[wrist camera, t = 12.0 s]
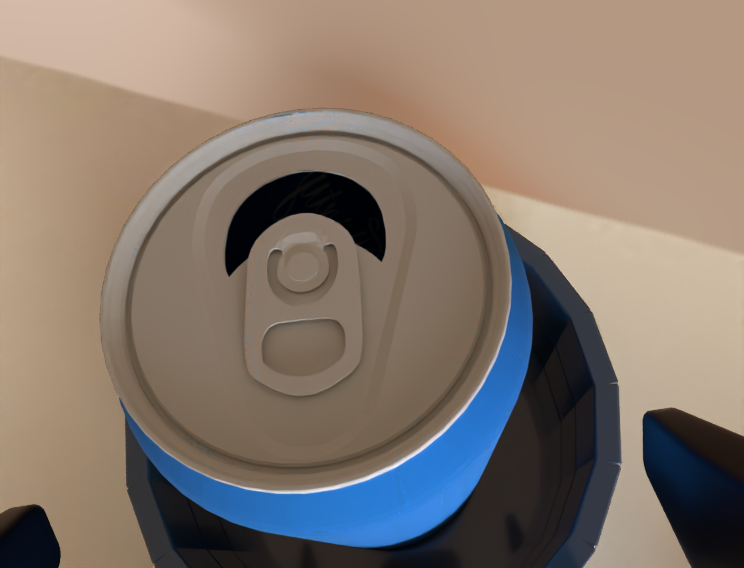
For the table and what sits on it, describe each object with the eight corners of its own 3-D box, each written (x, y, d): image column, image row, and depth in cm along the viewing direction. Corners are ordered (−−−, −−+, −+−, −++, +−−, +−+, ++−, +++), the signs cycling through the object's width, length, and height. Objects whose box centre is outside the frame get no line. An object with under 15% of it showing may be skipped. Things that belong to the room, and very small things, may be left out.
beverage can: (471, 330, 20) (506, 62, 9) (499, 542, 18) (594, 511, 7) (278, 347, 21) (98, 110, 10) (277, 557, 18) (29, 550, 7)
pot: (626, 340, 20) (680, 276, 16) (494, 745, 16) (515, 817, 12) (303, 220, 23) (270, 138, 19) (124, 534, 19) (27, 526, 15)
